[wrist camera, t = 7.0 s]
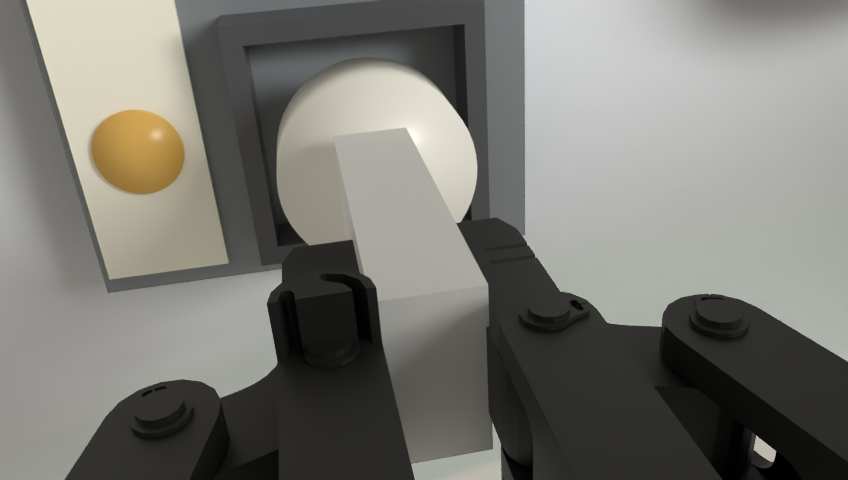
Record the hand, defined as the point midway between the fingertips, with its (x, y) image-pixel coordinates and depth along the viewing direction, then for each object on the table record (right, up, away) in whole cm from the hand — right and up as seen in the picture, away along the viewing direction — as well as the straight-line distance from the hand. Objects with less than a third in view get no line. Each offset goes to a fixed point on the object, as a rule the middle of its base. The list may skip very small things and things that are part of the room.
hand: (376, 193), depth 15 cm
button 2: (0, +1, +2) cm, 3 cm away
